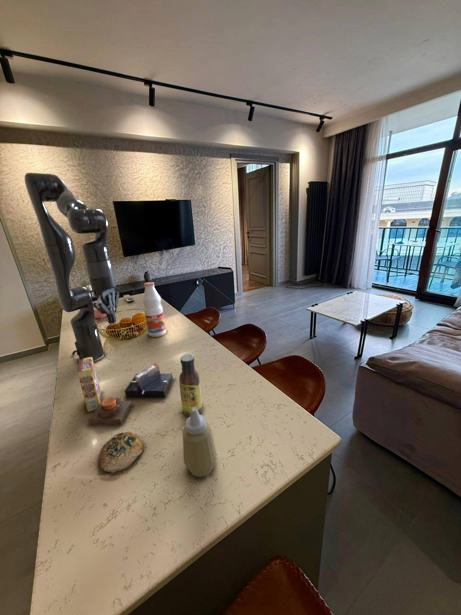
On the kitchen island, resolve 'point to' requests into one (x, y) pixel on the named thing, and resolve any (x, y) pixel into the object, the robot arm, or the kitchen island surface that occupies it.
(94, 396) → the candy box
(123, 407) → the button block
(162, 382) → the tap base
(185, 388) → the sauce bottle
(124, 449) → the bread roll
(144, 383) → the silver flat block
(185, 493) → the kitchen island surface
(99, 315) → the soup bowl
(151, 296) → the fruit juice
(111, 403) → the button
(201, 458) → the squeeze bottle
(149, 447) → the kitchen island surface
